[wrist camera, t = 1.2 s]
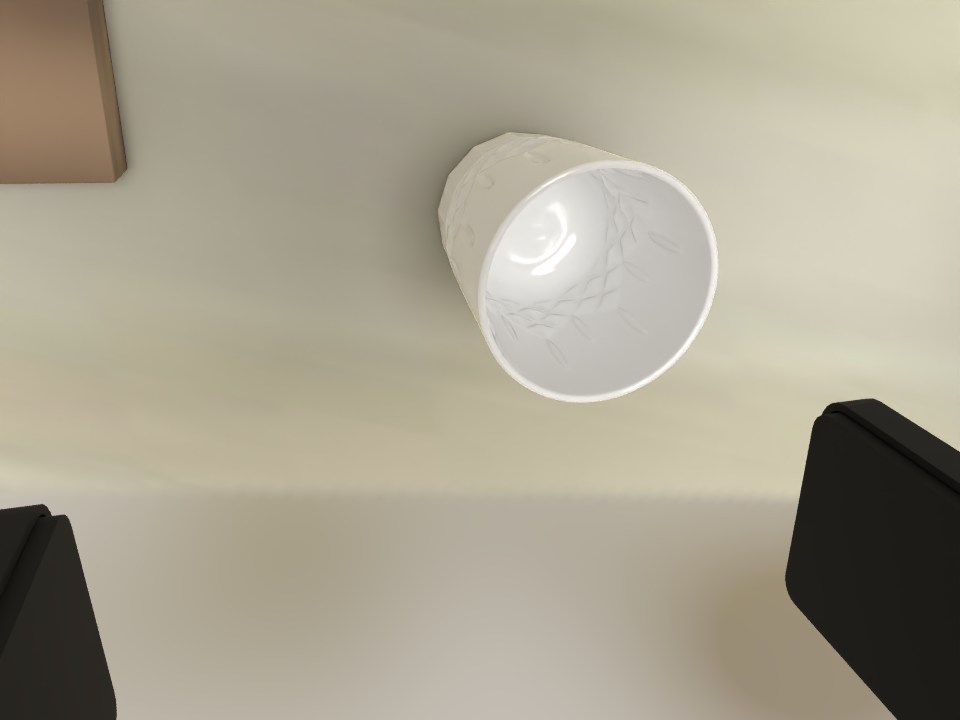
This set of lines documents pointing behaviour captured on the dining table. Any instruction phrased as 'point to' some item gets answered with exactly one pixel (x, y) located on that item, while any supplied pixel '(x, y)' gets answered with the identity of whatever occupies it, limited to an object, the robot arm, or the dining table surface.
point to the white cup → (577, 263)
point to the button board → (57, 94)
